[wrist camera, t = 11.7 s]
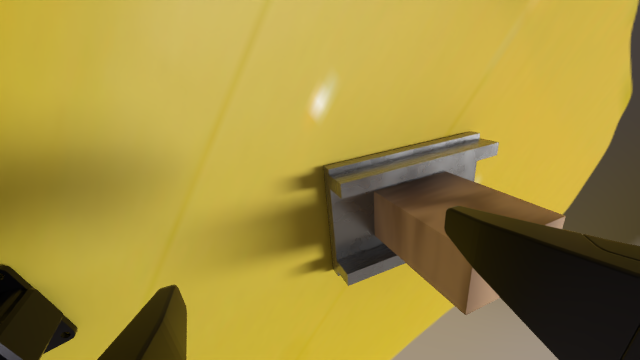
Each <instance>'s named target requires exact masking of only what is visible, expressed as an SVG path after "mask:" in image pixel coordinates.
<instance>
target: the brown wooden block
mask: <svg viewBox="0 0 640 360" xmlns="http://www.w3.org/2000/svg"><path fill="white" fill-rule="evenodd" d="M454 206H463V207H467V208H472V209H476V210H480V211H485V212H489V213H493V214H498V215H502V216H507V217H511V218H515V219H520V220H524V221H528V222H533V223H537V224H542V225H546V226H550V227H555V228H559V229H562V227H563V223H564V220H565V216H564V215H561V214H559V213H556V212H553V211H551V210H548V209H545V208H542V207H540V206H537V205H534V204H532V203H529V202H526V201H524V200H521V199H518V198H516V197H513V196H510V195H508V194H505V193H502V192H500V191H497V190H494V189H492V188H489V187H486V186H484V185H481V184H478V183H476V182H473V181H470V180H468V179H465V178H462V177H460V176H457V175H454V174H452V173H449V172H446V171H445V172H441V173H438V174H434V175H430V176H427V177H423V178H420V179H416V180H412V181H409V182H405V183H402V184H398V185H394V186H391V187H387V188H384V189H380V190H376V191H374V226H375V236H376V237H377V238H378V239H379V240H380V241H381V242H383V243H384V244H385V245H386V246H387V247H388V248H389V249H391V250H392V251H393V252H394V253H395V254H396V255H397V256H399V257H400V258H401V259H402V260H403V261H404V262H405V263H407V264H408V265H409V266H410V267H411V268H412V269H413V270H415V271H416V272H417V273H418V274H419V275H420V276H421V277H423V278H424V279H425V280H426V281H427V282H428V283H429V284H431V285H432V286H433V287H434V288H435V289H436V290H437V291H438V292H440V293H441V294H442V295H443V296H444V297H445V298H446V299H448V300H449V301H450V302H451V303H452V304H453V305H454V306H456V307H457V308H458V309H459V310H460V311H461V312H463V313H464V314H465V315H467V314H469V313H471V312H473V311H475V310H476V309H479V308H481V307H483V306H485V305H486V304H488V303H490V302H492V301H494V300H496V299H498V298H500V297H499V296H498V295H497V293H496V292H495V291H494V290H493V289H492V288H491V287H490V286H489V285H488V284H487V283H486V282H485V281H484V280H483V279H482V278H481V276H480V275H479V274H478V273H477V272H476V271H475V270H474V269H473V268H472V266H471V265H470V264H469V263H468V261H467V260H466V259H465V258H464V256H463V255H462V254H461V252H460V251H459V250H458V249H457V247H456V246H455V245H454V243H453V242H452V241H451V240H450V238H449V237H448V236H447V234H446V233H445V230H444V224H445V214H446V210H447V209H448V208H450V207H454Z"/></svg>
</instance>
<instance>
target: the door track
mask: <svg viewBox="0 0 640 360" xmlns="http://www.w3.org/2000/svg"><path fill="white" fill-rule="evenodd" d="M479 137H480V133H476V132H467V133H462V134H458V135H454V136H449V137H445V138H441V139H437V140H432V141H428V142H424V143H420V144H415V145H411V146H407V147H402V148H398V149H394V150H390V151H385V152H381V153H377V154H373V155H368V156H364V157H360V158H355V159H351V160H347V161H343V162H338V163H334V164H330V165H326V166H323V167H324V177H325V188H326V198H327V208H328V218H329V229H330V239H331V249H332V260H333V270H334V271H335V272H336V274H337V275H338V276H340V275H341V277H342V278H343V279H344V281H345V282H346V283H347V285H348V286H349V285H351V284H354V283H357V282H359V281H362V280H364V279H367V278H369V277H372V276H374V275H377V274H379V273H382V272H384V271H387V270H389V269H392V268H394V267H397V266H399V265H402V264H404V263H405V262H404V261H403V260H402V259H401V258H400V257H399V256H397V255H396V254H395V253H394V252H393V251H392V250H391V249H389V248H388V247H387V246H386V245H385V244H384V243H383V242H381V241H380V240H379V239H378V238H377V237H376V236H375V226H374V191H376V190H380V189H384V188H387V187H391V186H394V185H398V184H402V183H405V182H409V181H412V180H416V179H420V178H423V177H427V176H430V175H434V174H438V173H441V172H445V171H446V172H449V173H452V174H454V175H457V176H460V177H462V178H465V179H468V180H470V181H473V182H474V178H475V170H476V162H477V161H478V160H481V159H485V158H488V157H492V156H495V155H497V151H498V144H499V142H494V141H490V140H485V139H480V138H479Z"/></svg>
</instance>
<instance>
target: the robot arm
mask: <svg viewBox="0 0 640 360" xmlns="http://www.w3.org/2000/svg"><path fill="white" fill-rule="evenodd" d="M444 230H445V233H446V234H447V236H448V237H449V238H450V240H451V241H452V242H453V243H454V245H455V246H456V247H457V249H458V250H459V251H460V252H461V254H462V255H463V256H464V258H465V259H466V260H467V261H468V263H469V264H470V265H471V266H472V268H473V269H474V270H475V271H476V272H477V273H478V274H479V275H480V276H481V278H482V279H483V280H484V281H485V282H486V283H487V284H488V285H489V286H490V287H491V288H492V289H493V290H494V291H495V292H496V293H497V295H498V296H499V297H500V298H501V299H502V300H503V301H504V302H505V303H506V304H507V305H508V306H509V307H510V308H511V309H512V310H513V312H514V313H515V314H516V315H517V316H518V317H519V318H520V319H521V320H522V321H523V322H524V323H525V324H526V325H527V326H528V327H529V329H530V330H531V331H532V332H533V333H534V334H535V335H536V336H537V337H538V338H539V339H540V340H541V341H542V342H543V343H544V344H545V346H546V347H547V348H548V349H549V350H550V351H551V352H552V353H553V354H554V355H555V356H556V357H557V358H558V359H559V360H640V246H637V245H632V244H627V243H622V242H617V241H612V240H608V239H603V238H599V237H594V236H590V235H586V234H583V235H582V234H581V233H577V232H572V231H568V230H563V229H559V228H555V227H550V226H546V225H542V224H537V223H533V222H528V221H524V220H520V219H515V218H511V217H507V216H502V215H498V214H493V213H489V212H485V211H480V210H476V209H472V208H467V207H463V206H454V207H450V208H448V209H447V210H446V214H445V224H444ZM0 273H1V274H3V275H4V276H3V277H2V276H0V360H40V358H41V357H42V355H43V354H44V353H46V352H48V351H50V350H52V349H54V348H56V347H58V346H59V345H61V344H63V343H65V342H67V341H69V340H71V339H72V338H74V336H75V334H76V332H77V327H76V326H75V325H74V324H73V323H72V322H71V321H70V320H69V319H67V318H66V317H65V316H64V315H63V313H62V312H61V311H60V310H59V309H57V308H56V307H55V306H54V305H53V304H52V303H51V302H50V301H49V300H47V299H46V298H45V297H44V296H43V295H42V294H41V293H40V292H39V291H38V290H36V289H34V288H33V287H32V286H31V285H30V284H29V283H28V282H26V281H25V280H24V279H23V278H22V277H21V276H20V275H19V274H18V273H16V272H15V271H14V270H13V269H12V268H10V267H9V266H5V265H0ZM64 332H69V333H64ZM186 339H187V310H186V305H185V303H184V300H183V298H182V296H181V293H180V291H179V288H178V287H177V286H176V285H171V286H167V287H164V288H161V289H159V290H158V291H157V292H156V293H155V295H154V296H153V297H152V298H151V299H150V300H149V301H148V303H147V304H146V305H145V306H144V307H143V308H142V309H141V311H140V312H139V313H138V314H137V315H136V316H135V317H134V319H133V320H132V321H131V322H130V323H129V324H128V325H127V326H126V328H125V329H124V330H123V331H122V332H121V333H120V334H119V336H118V337H117V338H116V339H115V340H114V341H113V342H112V344H111V345H110V346H109V347H108V348H107V349H106V350H105V352H104V353H103V354H102V355H101V356H100V357H99V358H98V359H97V360H186Z"/></svg>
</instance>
